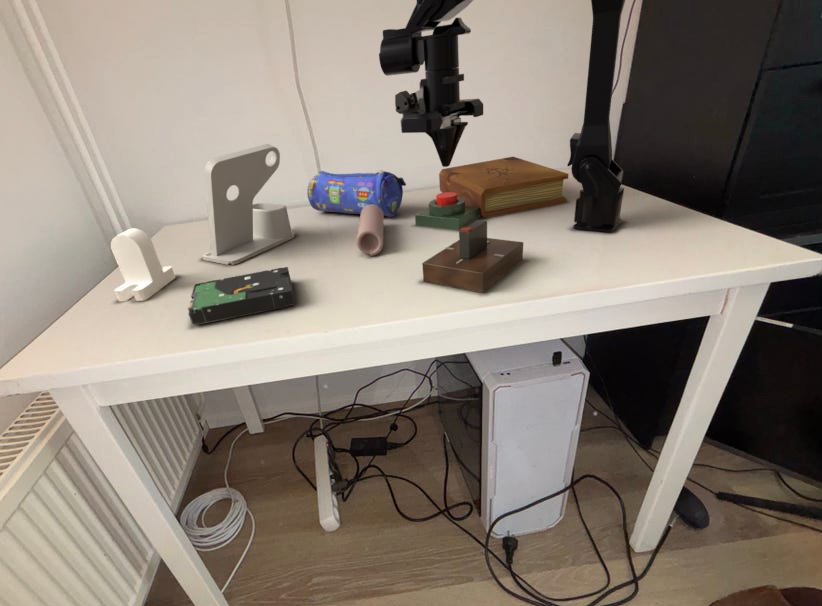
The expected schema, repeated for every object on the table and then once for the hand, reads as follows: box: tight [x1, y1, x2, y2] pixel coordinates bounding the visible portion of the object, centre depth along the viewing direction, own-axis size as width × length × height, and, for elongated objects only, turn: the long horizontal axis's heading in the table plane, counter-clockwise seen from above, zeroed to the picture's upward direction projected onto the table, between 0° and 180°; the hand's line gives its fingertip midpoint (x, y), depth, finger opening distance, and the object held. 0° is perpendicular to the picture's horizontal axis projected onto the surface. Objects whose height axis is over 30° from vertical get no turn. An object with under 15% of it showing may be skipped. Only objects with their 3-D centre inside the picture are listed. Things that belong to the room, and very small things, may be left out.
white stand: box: [110, 227, 176, 302], centre depth 81 cm, size 5×10×10 cm, turn 170°
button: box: [435, 192, 457, 205], centre depth 94 cm, size 4×4×2 cm
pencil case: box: [306, 169, 407, 218], centre depth 107 cm, size 22×9×10 cm, turn 58°
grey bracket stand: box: [202, 143, 295, 266], centre depth 93 cm, size 17×10×18 cm, turn 145°
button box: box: [414, 197, 481, 232], centre depth 96 cm, size 10×8×4 cm
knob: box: [458, 219, 488, 259], centre depth 72 cm, size 6×2×4 cm, turn 142°
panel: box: [421, 237, 524, 294], centre depth 74 cm, size 10×13×3 cm
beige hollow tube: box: [356, 204, 385, 257], centre depth 91 cm, size 5×5×18 cm
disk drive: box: [187, 266, 295, 325], centre depth 73 cm, size 10×3×15 cm
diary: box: [438, 156, 569, 219], centre depth 105 cm, size 23×19×6 cm
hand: (446, 166), depth 91 cm, fingers closed
